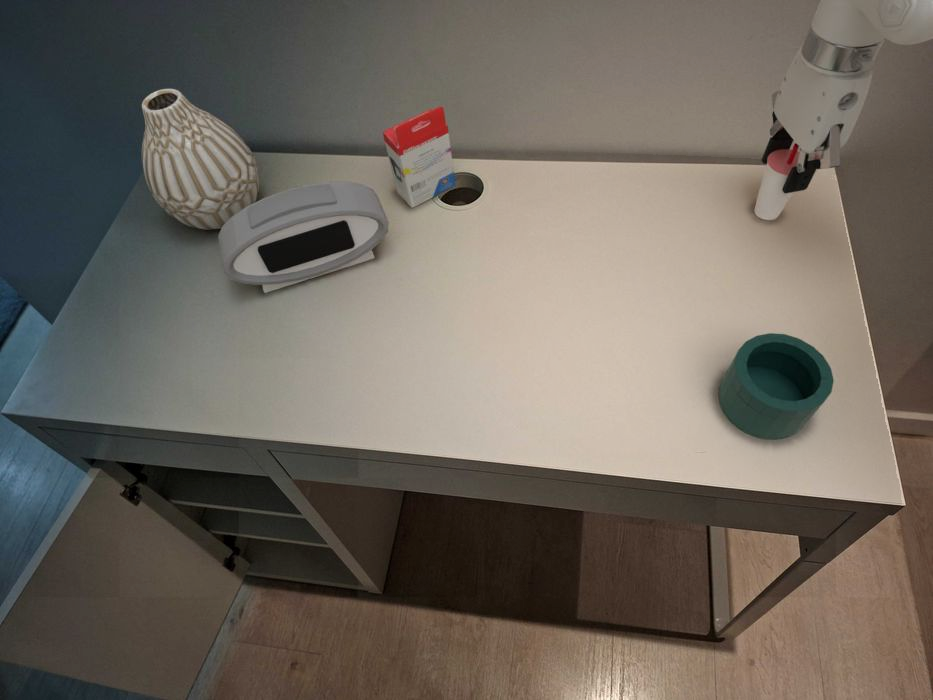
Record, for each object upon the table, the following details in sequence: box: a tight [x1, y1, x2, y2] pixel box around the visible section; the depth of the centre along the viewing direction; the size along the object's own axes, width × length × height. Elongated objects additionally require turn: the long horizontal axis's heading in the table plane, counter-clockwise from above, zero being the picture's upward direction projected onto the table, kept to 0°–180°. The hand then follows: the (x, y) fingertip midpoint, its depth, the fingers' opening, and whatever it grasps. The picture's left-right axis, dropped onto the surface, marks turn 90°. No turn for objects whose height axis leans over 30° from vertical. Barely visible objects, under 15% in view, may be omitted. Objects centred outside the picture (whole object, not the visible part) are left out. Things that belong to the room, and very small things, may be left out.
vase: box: [141, 88, 260, 231], centre depth 89 cm, size 16×16×20 cm
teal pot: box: [718, 332, 835, 440], centre depth 67 cm, size 10×10×7 cm
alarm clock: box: [217, 181, 389, 294], centre depth 83 cm, size 23×6×13 cm, turn 110°
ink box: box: [382, 105, 456, 209], centre depth 89 cm, size 8×5×15 cm, turn 123°
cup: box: [754, 142, 811, 221], centre depth 82 cm, size 5×5×12 cm
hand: (783, 174), depth 81 cm, fingers closed on cup, 5 cm apart
